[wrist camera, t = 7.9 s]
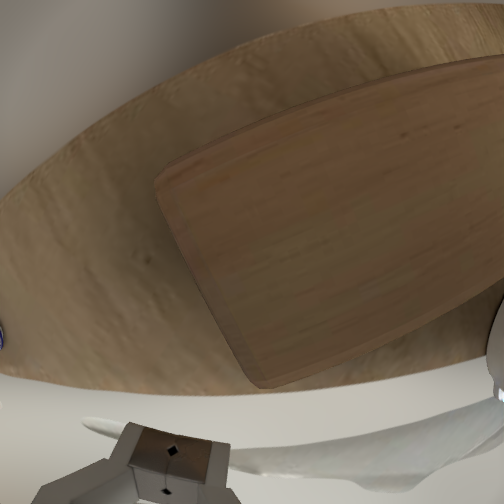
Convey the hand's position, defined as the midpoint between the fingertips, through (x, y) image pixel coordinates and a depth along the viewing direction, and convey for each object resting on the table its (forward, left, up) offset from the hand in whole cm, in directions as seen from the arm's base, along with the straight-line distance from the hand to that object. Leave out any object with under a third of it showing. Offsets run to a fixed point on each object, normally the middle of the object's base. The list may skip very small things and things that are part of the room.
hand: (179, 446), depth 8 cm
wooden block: (+1, -3, -9) cm, 10 cm away
